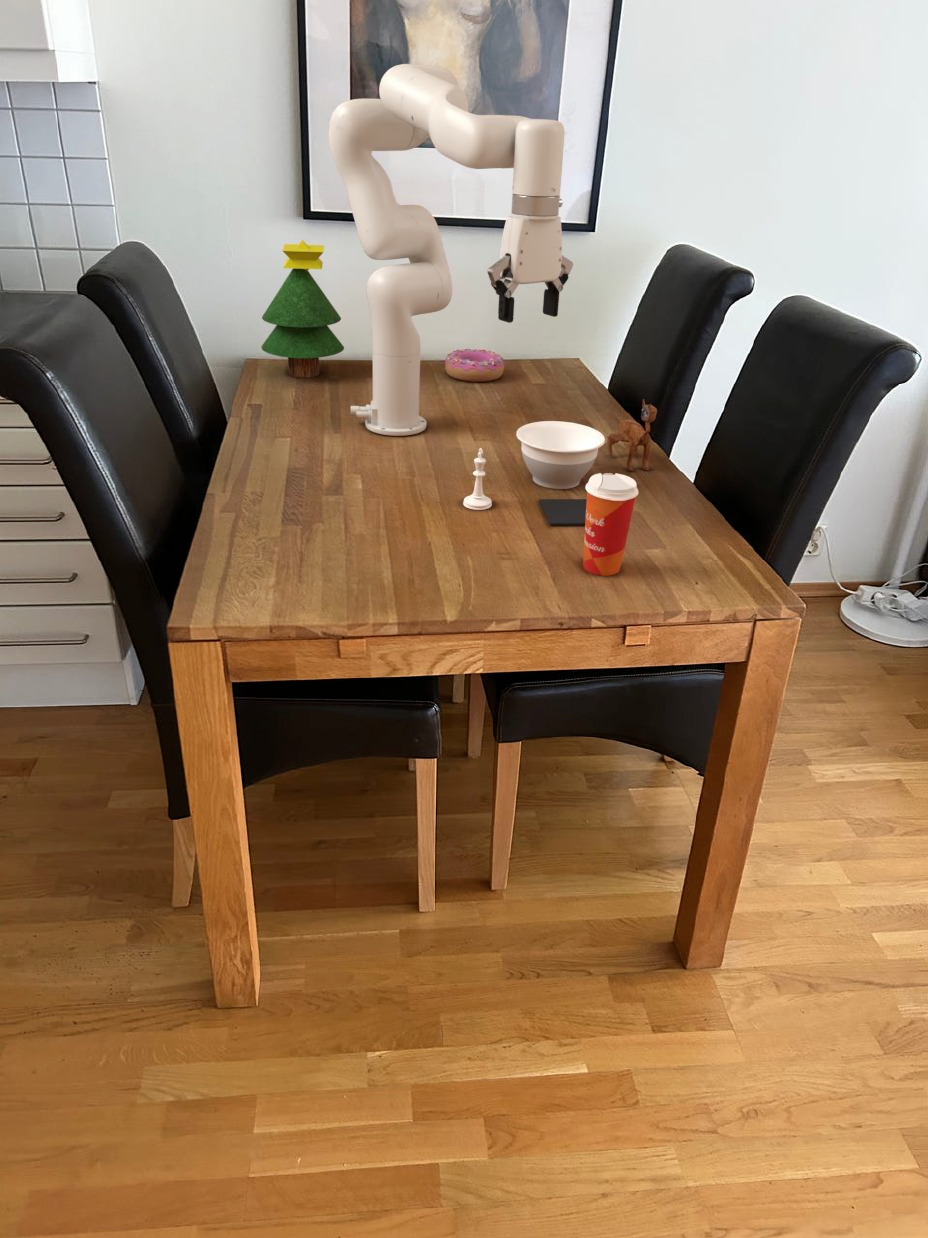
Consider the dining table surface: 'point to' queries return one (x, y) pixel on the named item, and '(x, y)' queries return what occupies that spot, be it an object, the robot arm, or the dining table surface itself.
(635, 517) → the dining table surface
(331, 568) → the dining table surface
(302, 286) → the decorative tree
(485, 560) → the dining table surface
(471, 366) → the donut
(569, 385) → the dining table surface
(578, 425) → the bowl
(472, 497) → the chess piece
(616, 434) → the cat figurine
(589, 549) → the paper cup
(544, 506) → the coaster
